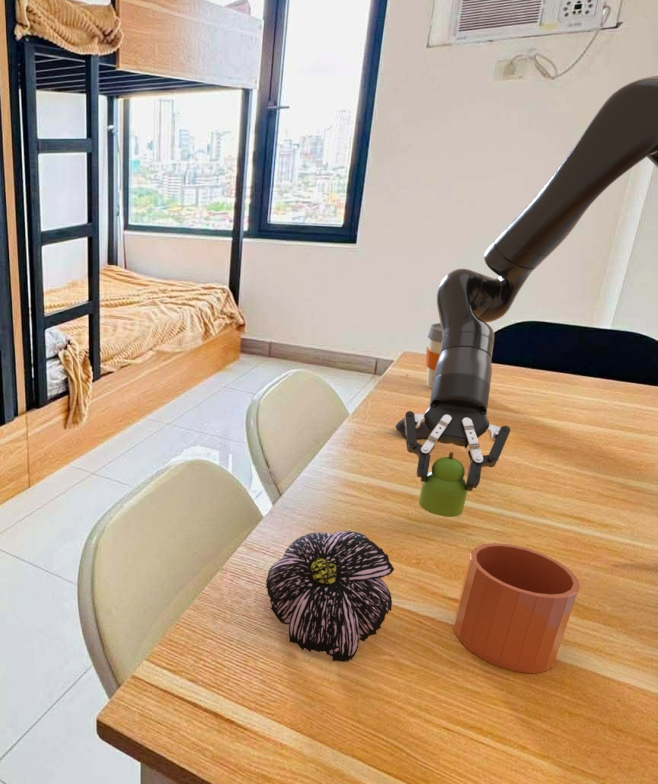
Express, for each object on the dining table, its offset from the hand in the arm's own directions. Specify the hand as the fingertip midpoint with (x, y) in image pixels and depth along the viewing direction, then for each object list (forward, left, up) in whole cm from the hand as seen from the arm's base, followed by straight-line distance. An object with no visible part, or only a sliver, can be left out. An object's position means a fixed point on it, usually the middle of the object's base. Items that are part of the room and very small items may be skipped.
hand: (446, 484), depth 91 cm
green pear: (+1, -2, -5) cm, 5 cm away
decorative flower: (+3, +30, -9) cm, 32 cm away
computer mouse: (+16, -38, -9) cm, 42 cm away
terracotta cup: (-13, +18, -9) cm, 24 cm away
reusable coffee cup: (+22, -74, -9) cm, 77 cm away
